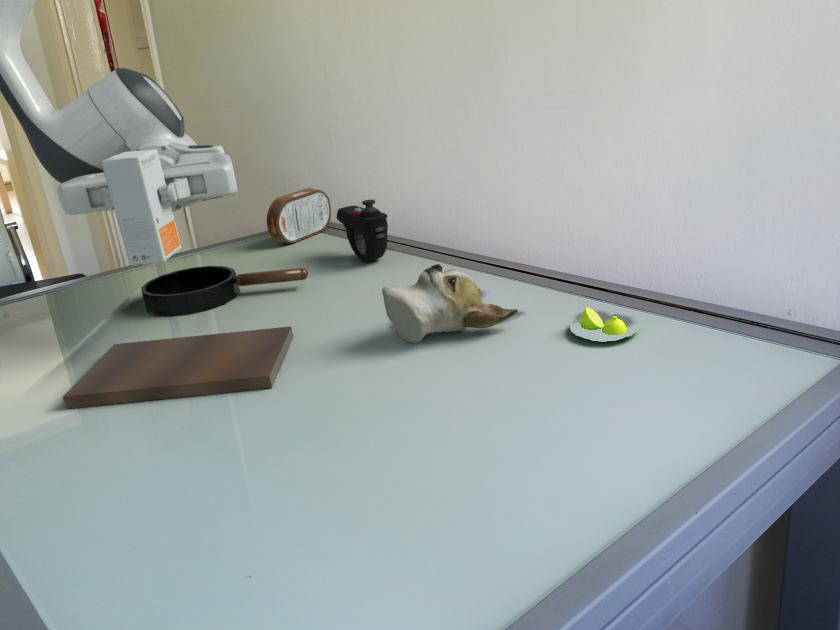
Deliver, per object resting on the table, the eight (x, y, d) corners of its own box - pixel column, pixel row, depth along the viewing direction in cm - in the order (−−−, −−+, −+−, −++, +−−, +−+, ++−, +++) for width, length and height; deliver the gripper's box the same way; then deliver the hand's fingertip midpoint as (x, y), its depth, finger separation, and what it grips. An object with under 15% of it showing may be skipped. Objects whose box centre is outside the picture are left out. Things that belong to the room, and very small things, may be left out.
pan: (133, 320, 101) (126, 299, 100) (163, 288, 114) (158, 270, 112) (304, 302, 102) (300, 281, 100) (316, 273, 114) (313, 254, 112)
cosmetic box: (166, 263, 83) (137, 157, 78) (129, 266, 83) (98, 160, 78) (183, 248, 89) (158, 148, 84) (149, 251, 89) (121, 151, 84)
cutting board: (66, 409, 77) (62, 396, 77) (117, 354, 90) (113, 343, 90) (272, 388, 77) (269, 375, 77) (293, 337, 90) (291, 326, 90)
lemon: (563, 344, 81) (562, 321, 80) (574, 317, 88) (574, 295, 87) (637, 347, 78) (637, 323, 77) (642, 319, 85) (643, 297, 84)
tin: (324, 226, 142) (317, 183, 138) (337, 227, 140) (330, 183, 137) (270, 248, 130) (260, 201, 127) (282, 249, 129) (273, 202, 125)
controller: (373, 269, 113) (364, 206, 109) (339, 254, 122) (329, 195, 118) (397, 263, 115) (389, 200, 111) (362, 248, 125) (353, 190, 120)
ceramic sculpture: (364, 263, 86) (476, 244, 92) (370, 331, 89) (477, 309, 95) (399, 287, 77) (520, 264, 83) (404, 362, 80) (520, 335, 86)
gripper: (68, 162, 92) (33, 182, 79) (234, 143, 95) (225, 159, 82) (83, 211, 94) (51, 238, 82) (244, 191, 97) (236, 214, 85)
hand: (140, 198), depth 82 cm, fingers closed on cosmetic box, 4 cm apart
